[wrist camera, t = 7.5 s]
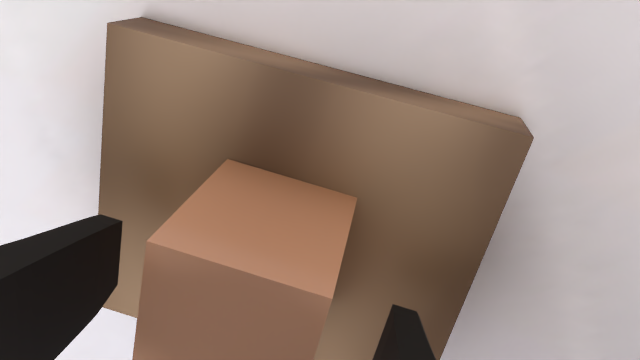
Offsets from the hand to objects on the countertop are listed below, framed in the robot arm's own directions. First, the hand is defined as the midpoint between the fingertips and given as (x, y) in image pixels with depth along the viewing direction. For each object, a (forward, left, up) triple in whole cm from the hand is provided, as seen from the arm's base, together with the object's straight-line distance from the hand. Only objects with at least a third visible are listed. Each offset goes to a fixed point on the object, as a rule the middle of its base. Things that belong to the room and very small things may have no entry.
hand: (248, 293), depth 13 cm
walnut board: (0, 0, -6) cm, 6 cm away
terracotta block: (0, 0, -3) cm, 3 cm away
